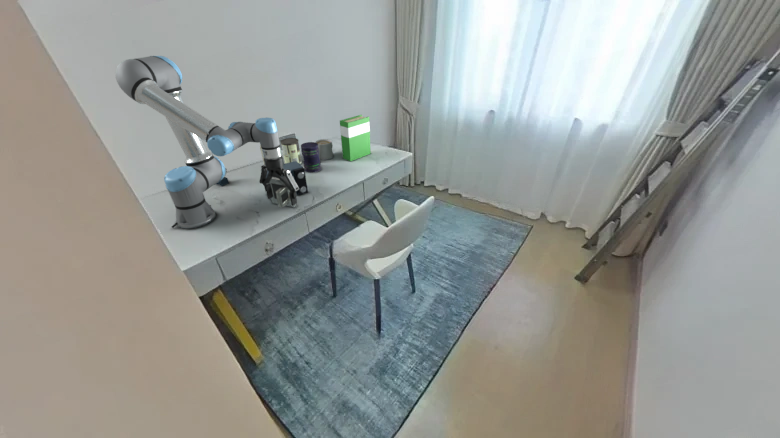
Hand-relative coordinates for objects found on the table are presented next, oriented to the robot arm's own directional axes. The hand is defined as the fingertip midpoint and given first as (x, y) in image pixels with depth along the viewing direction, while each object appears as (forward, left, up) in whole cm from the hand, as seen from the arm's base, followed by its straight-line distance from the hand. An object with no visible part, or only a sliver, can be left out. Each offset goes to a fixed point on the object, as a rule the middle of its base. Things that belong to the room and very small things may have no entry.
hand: (282, 200), depth 143 cm
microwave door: (0, +6, -7) cm, 9 cm away
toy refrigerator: (+9, +37, -7) cm, 38 cm away
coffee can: (+25, +55, -7) cm, 60 cm away
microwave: (+8, +17, -7) cm, 20 cm away
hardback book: (+63, +42, -7) cm, 76 cm away
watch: (-17, +50, -7) cm, 53 cm away
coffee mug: (+47, +53, -7) cm, 71 cm away
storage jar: (+31, +39, -7) cm, 50 cm away
